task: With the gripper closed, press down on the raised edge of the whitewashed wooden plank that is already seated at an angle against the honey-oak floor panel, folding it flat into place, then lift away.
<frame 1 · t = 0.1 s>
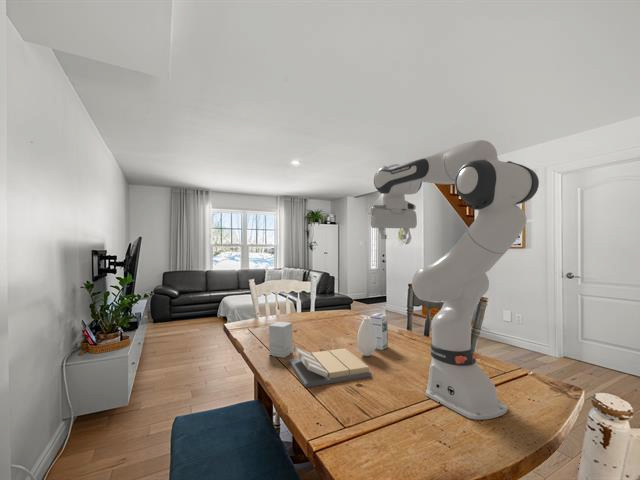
hand: (394, 239, 123), 48 cm above the table, fingers open, 8 cm apart
sauce bottle: (366, 355, 124), on the table
floor panel: (327, 368, 110), on the table
syrup box: (379, 347, 134), on the table
supplement box: (280, 354, 126), on the table
whitewashed plank: (309, 360, 108), point 4 cm above the table, hinge at 28.0°
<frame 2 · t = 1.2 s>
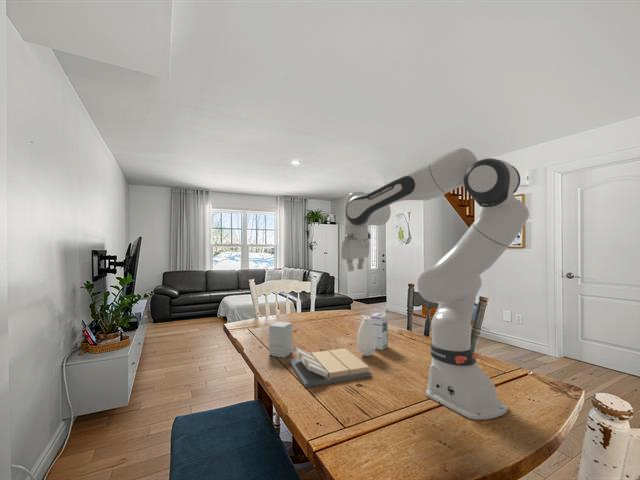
hand: (355, 270, 116), 36 cm above the table, fingers open, 8 cm apart
nothing on the table moved.
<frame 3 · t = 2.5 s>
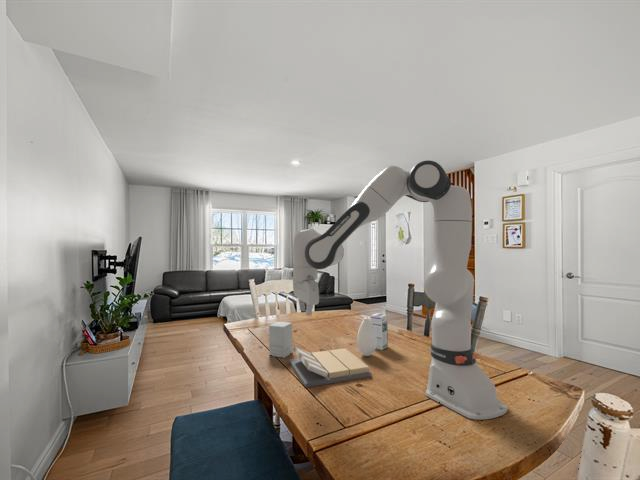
hand: (305, 312, 108), 21 cm above the table, fingers open, 6 cm apart
nothing on the table moved.
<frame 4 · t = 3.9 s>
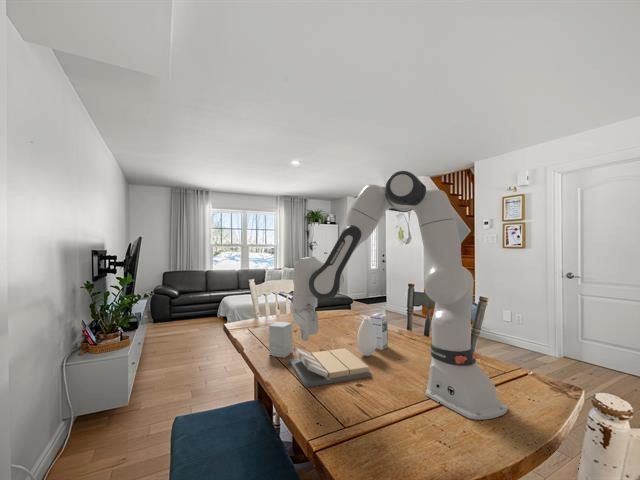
hand: (304, 340, 108), 11 cm above the table, fingers closed
nothing on the table moved.
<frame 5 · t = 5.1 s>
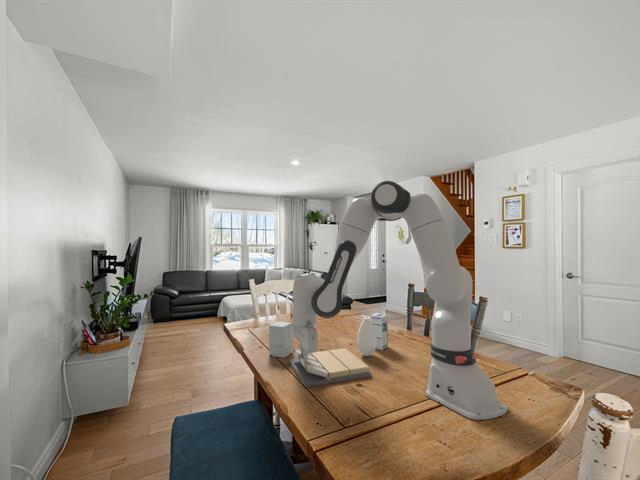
hand: (304, 356, 108), 5 cm above the table, fingers closed, pressing on whitewashed plank
whitewashed plank: (308, 361, 108), point 4 cm above the table, hinge at 22.9°, touching gripper
everything else where it was.
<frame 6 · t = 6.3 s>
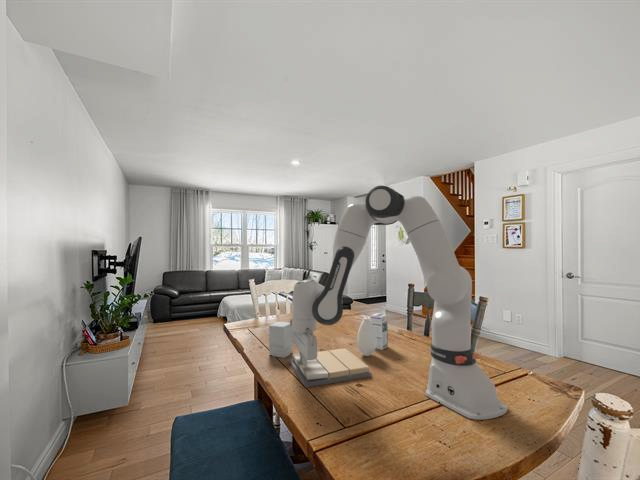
hand: (303, 363, 108), 3 cm above the table, fingers closed, pressing on whitewashed plank
whitewashed plank: (308, 365, 108), point 2 cm above the table, hinge at 2.8°, touching gripper
everything else where it was.
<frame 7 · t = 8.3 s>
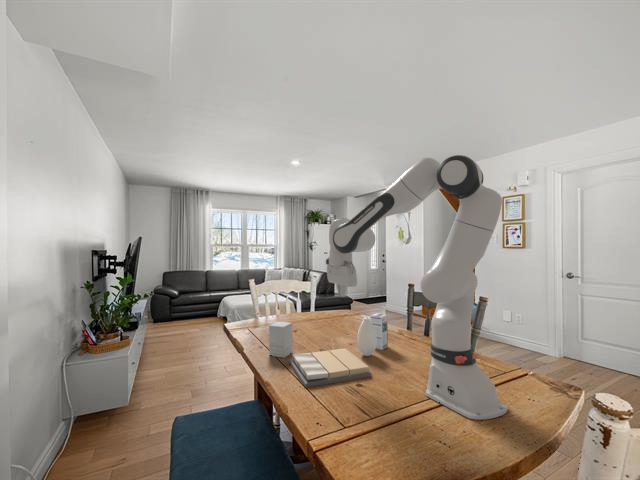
hand: (341, 296, 116), 26 cm above the table, fingers closed
whitewashed plank: (308, 365, 108), point 2 cm above the table, hinge at 2.6°
everything else where it was.
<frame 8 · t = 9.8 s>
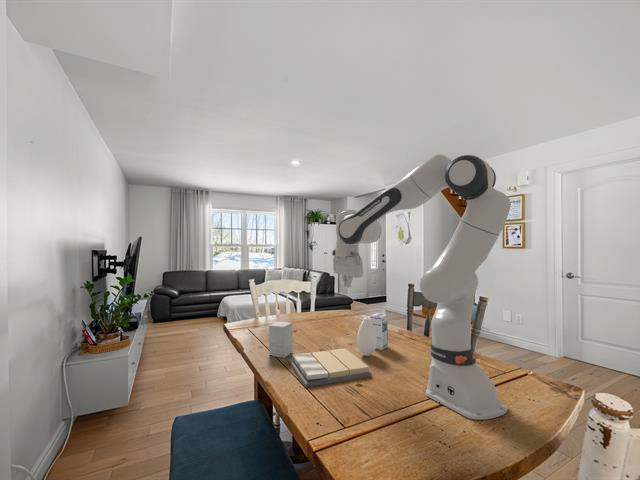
hand: (347, 287, 118), 29 cm above the table, fingers closed
nothing on the table moved.
at the end: whitewashed plank at +3° (first picture: +28°); the gripper is holding nothing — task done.
